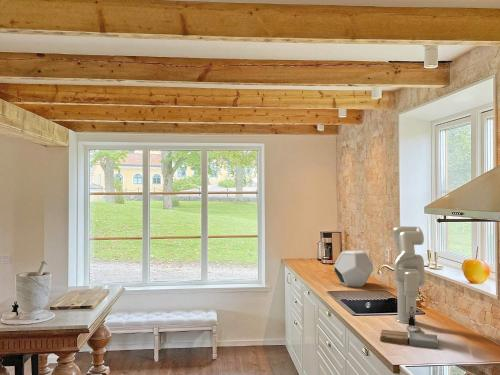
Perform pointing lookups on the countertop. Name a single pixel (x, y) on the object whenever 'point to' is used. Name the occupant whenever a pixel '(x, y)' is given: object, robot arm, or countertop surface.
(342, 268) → the dodecahedron
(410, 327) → the stone
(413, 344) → the slate stand
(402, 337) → the walnut stand
